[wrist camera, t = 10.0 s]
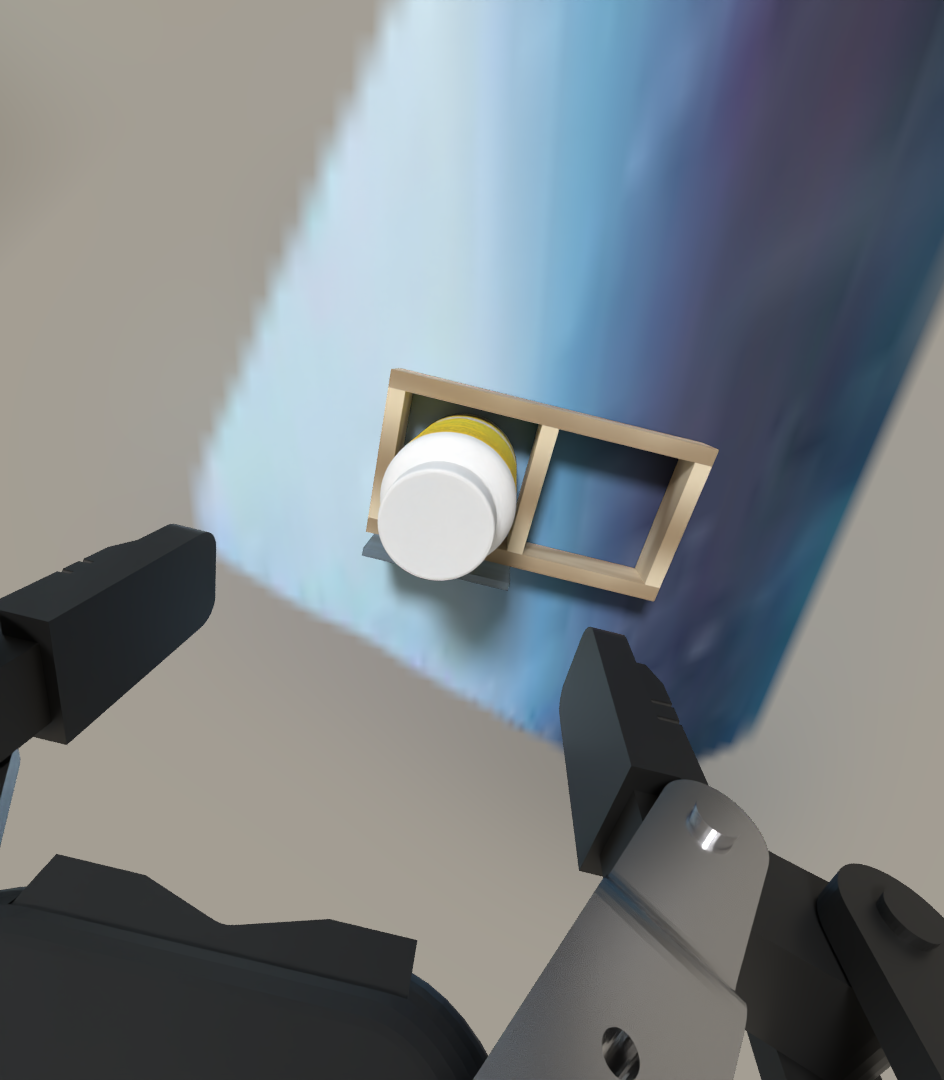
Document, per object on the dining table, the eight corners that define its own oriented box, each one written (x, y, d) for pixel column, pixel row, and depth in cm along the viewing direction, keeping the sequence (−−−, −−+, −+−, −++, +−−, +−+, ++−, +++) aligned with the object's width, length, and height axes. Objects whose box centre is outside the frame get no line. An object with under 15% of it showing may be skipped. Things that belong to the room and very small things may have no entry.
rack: (400, 368, 23) (379, 369, 19) (702, 442, 23) (739, 458, 19) (375, 525, 26) (352, 553, 22) (641, 590, 26) (662, 628, 23)
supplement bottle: (417, 406, 24) (358, 434, 14) (523, 419, 23) (532, 457, 14) (410, 507, 26) (354, 588, 16) (508, 520, 25) (506, 610, 16)
